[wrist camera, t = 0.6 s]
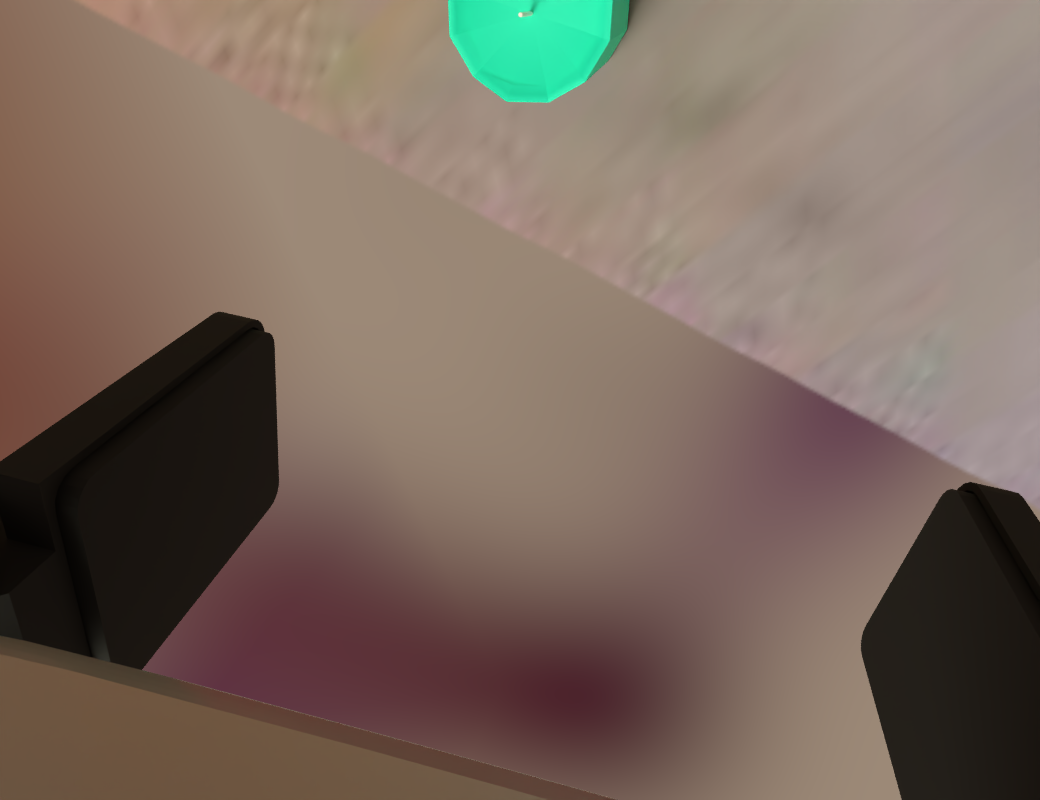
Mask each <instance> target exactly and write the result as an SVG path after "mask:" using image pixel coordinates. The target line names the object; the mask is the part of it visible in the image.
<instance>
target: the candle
mask: <svg viewBox="0 0 1040 800" xmlns="http://www.w3.org/2000/svg"><path fill="white" fill-rule="evenodd" d="M629 1H630V0H448V8H449V32H450V38H451V39H452V41H453V43H454V45H455V46H456V48H457V50H458V51H459V53H460V55H461V57H462V58H463V60H464V62H465V63H466V65H467V67H468V68H469V70H470V72H471V74H472V75H473V77H474V78H476V79H477V80H478V81H480V82H481V83H482V84H484V85H485V86H486V87H488V88H489V89H490V90H492V91H493V92H494V93H496V94H497V95H498V96H500V97H501V98H502V99H504V100H505V101H506V102H551V101H552V100H554V99H556V98H558V97H559V96H561V95H563V94H565V93H566V92H568V91H570V90H572V89H574V88H575V87H577V86H579V85H581V84H582V83H584V82H586V81H587V80H588V79H589V78H590V77H591V76H592V75H593V74H594V73H595V72H596V71H598V70H599V69H600V68H601V67H602V66H603V65H604V64H605V63H606V62H607V61H608V60H609V59H610V57H611V55H612V54H613V52H614V51H615V49H616V47H617V46H618V44H619V42H620V41H621V39H622V37H623V36H624V34H625V32H626V31H627V26H628V13H629Z"/></svg>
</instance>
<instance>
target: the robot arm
mask: <svg viewBox="0 0 1040 800" xmlns="http://www.w3.org/2000/svg"><path fill="white" fill-rule="evenodd" d="M275 380H276V377H275V347H274V339H273V337H272V335H271V334H270V333H267V332H264V328H263V326H262V324H261V322H259V321H258V320H255V319H250V318H246V317H242V316H237V315H233V314H228V313H224V312H217V313H214V314H213V315H211V316H209V317H208V318H207V319H205V320H204V321H202V322H201V323H199V324H198V325H197V326H195V327H194V328H192V329H191V330H189V331H188V332H187V333H185V334H184V335H182V336H181V337H179V338H178V339H176V340H175V341H173V342H172V343H171V344H169V345H168V346H166V347H165V348H163V349H162V350H160V351H159V352H158V353H156V354H155V355H153V356H152V357H150V358H149V359H147V360H146V361H145V362H143V363H142V364H140V365H139V366H137V367H136V368H134V369H133V370H132V371H130V372H129V373H127V374H126V375H124V376H123V377H122V378H120V379H119V380H117V381H116V382H114V383H113V384H111V385H110V386H109V387H107V388H106V389H104V390H103V391H101V392H100V393H98V394H97V395H96V396H94V397H93V398H91V399H90V400H88V401H87V402H86V403H84V404H83V405H81V406H80V407H78V408H77V409H75V410H74V411H72V412H71V413H70V414H68V415H67V416H65V417H64V418H62V419H61V420H60V421H58V422H57V423H55V424H54V425H52V426H51V427H49V428H48V429H47V430H45V431H44V432H42V433H41V434H39V435H38V436H36V437H35V438H34V439H32V440H31V441H29V442H28V443H26V444H25V445H23V446H22V447H21V448H19V449H18V450H16V451H15V452H13V453H12V454H10V455H9V456H8V457H6V458H5V459H3V460H2V461H0V800H616V799H613V798H609V797H606V796H602V795H598V794H595V793H591V792H587V791H584V790H580V789H577V788H573V787H570V786H566V785H562V784H559V783H555V782H552V781H548V780H544V779H541V778H537V777H534V776H530V775H526V774H522V773H519V772H515V771H512V770H508V769H504V768H501V767H497V766H494V765H490V764H486V763H482V762H479V761H476V760H472V759H468V758H465V757H461V756H457V755H454V754H450V753H447V752H442V751H439V750H435V749H432V748H428V747H425V746H421V745H417V744H414V743H410V742H407V741H403V740H399V739H396V738H392V737H388V736H385V735H381V734H377V733H374V732H370V731H366V730H362V729H359V728H355V727H352V726H348V725H344V724H340V723H337V722H333V721H329V720H326V719H322V718H318V717H315V716H311V715H307V714H303V713H300V712H296V711H292V710H289V709H285V708H281V707H278V706H274V705H270V704H267V703H263V702H259V701H255V700H252V699H248V698H244V697H241V696H237V695H233V694H229V693H226V692H222V691H218V690H214V689H211V688H207V687H204V686H200V685H196V684H193V683H189V682H185V681H182V680H177V679H174V678H170V677H166V676H163V675H159V674H155V673H151V672H147V671H143V670H142V669H143V668H144V666H145V665H146V664H147V663H148V661H149V660H150V659H151V657H152V656H153V655H154V654H155V652H156V651H157V650H158V649H159V647H160V646H161V645H162V643H163V642H164V641H165V640H166V638H167V637H168V636H169V635H170V633H171V632H172V631H173V630H174V628H175V627H176V626H177V624H178V623H179V622H180V621H181V620H182V618H183V617H184V616H185V614H186V613H187V612H188V611H189V609H190V608H191V607H192V606H193V604H194V603H195V602H196V601H197V599H198V598H199V597H200V596H201V594H202V593H203V592H204V590H205V589H206V588H207V587H208V585H209V584H210V583H211V582H212V580H213V579H214V577H216V575H217V574H218V573H219V571H220V570H221V569H222V568H223V566H224V565H225V564H226V563H227V561H228V560H229V559H230V558H231V556H232V555H233V554H234V553H235V551H236V550H237V549H238V547H239V546H240V545H241V543H242V542H243V541H244V540H245V539H246V537H247V536H248V535H249V534H250V532H251V531H252V530H253V528H254V527H255V526H256V525H257V523H258V522H259V521H260V520H261V518H262V517H263V516H264V514H265V513H266V512H267V511H268V509H269V508H270V507H271V505H272V504H273V502H274V500H275V497H276V494H277V491H278V486H279V470H278V440H277V410H276V409H277V408H276V381H275ZM861 652H862V657H863V661H864V665H865V668H866V672H867V675H868V678H869V683H870V686H871V690H872V693H873V697H874V701H875V704H876V708H877V712H878V715H879V719H880V722H881V726H882V730H883V733H884V737H885V740H886V744H887V748H888V751H889V755H890V758H891V762H892V766H893V769H894V773H895V777H896V780H897V784H898V788H899V791H900V795H901V798H902V800H1040V522H1039V520H1038V519H1037V517H1036V516H1035V514H1034V513H1033V511H1032V510H1031V509H1030V507H1029V506H1028V504H1027V503H1026V501H1025V500H1024V498H1023V497H1022V496H1021V495H1020V494H1019V493H1015V492H1012V491H1008V490H1003V489H999V488H994V487H990V486H986V485H981V484H977V483H972V482H969V483H965V484H963V485H962V486H961V487H959V488H958V490H953V489H950V490H947V491H946V492H945V493H944V494H943V495H942V496H941V498H940V499H939V501H938V503H937V504H936V506H935V508H934V509H933V511H932V513H931V515H930V516H929V518H928V520H927V522H926V523H925V525H924V527H923V528H922V530H921V532H920V534H919V535H918V537H917V539H916V540H915V542H914V544H913V546H912V547H911V549H910V551H909V553H908V554H907V556H906V558H905V559H904V561H903V563H902V564H901V566H900V568H899V570H898V572H897V573H896V575H895V577H894V578H893V580H892V582H891V583H890V585H889V587H888V589H887V590H886V592H885V594H884V595H883V597H882V599H881V601H880V602H879V604H878V606H877V608H876V609H875V611H874V613H873V614H872V616H871V618H870V620H869V622H868V623H867V625H866V627H865V629H864V631H863V635H862V640H861Z"/></svg>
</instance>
